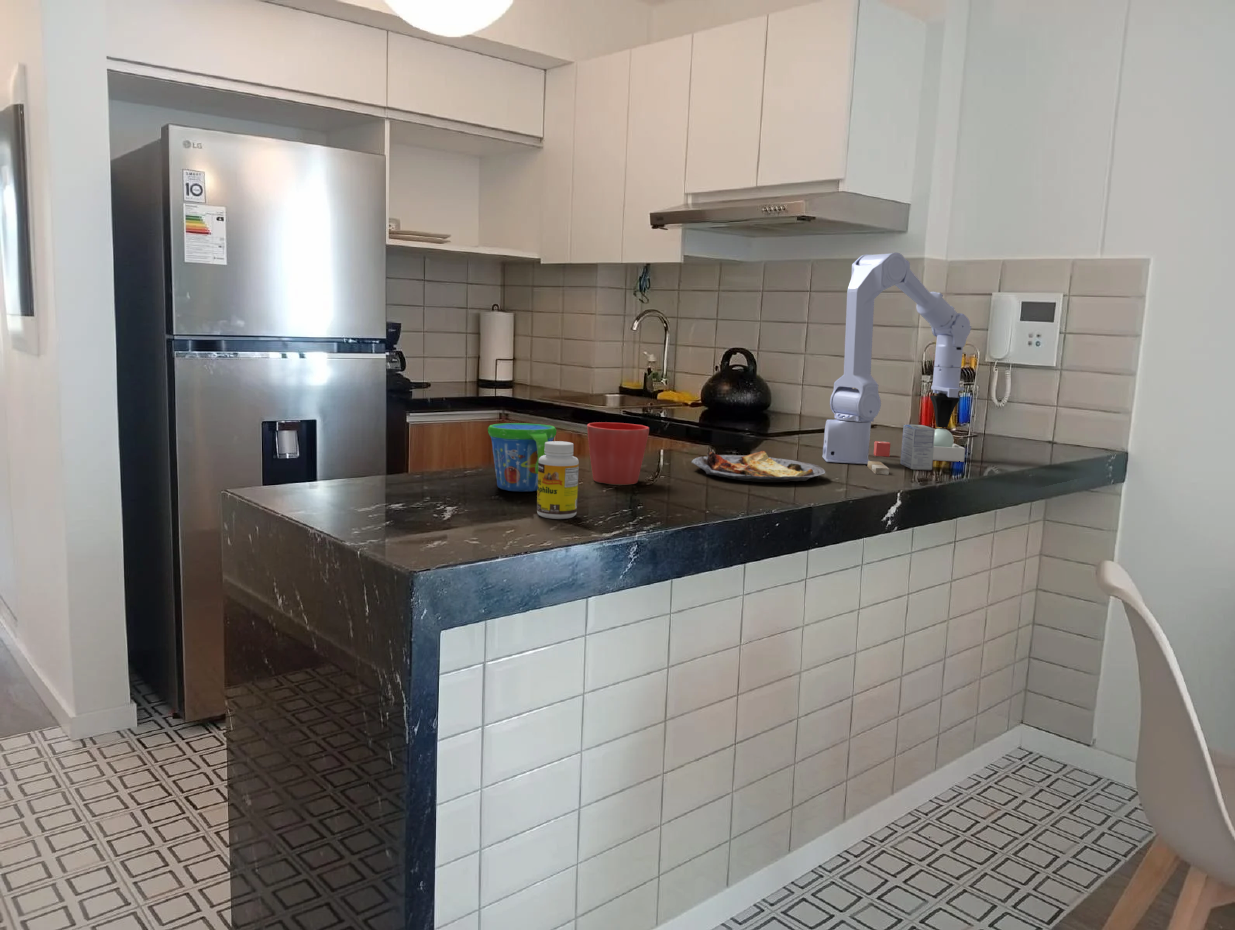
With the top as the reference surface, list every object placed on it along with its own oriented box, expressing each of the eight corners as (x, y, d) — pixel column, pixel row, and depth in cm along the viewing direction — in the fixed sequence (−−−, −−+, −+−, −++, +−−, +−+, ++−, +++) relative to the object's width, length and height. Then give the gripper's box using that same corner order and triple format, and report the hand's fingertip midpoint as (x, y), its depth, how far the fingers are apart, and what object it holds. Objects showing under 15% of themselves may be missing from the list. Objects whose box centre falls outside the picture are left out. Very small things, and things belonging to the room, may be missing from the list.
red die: (875, 455, 209) (876, 442, 209) (873, 454, 212) (874, 440, 212) (889, 456, 209) (890, 443, 208) (886, 454, 212) (888, 441, 211)
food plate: (674, 464, 182) (675, 446, 181) (779, 464, 189) (781, 447, 189) (727, 490, 159) (729, 470, 158) (845, 489, 166) (847, 470, 165)
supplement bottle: (528, 514, 128) (530, 441, 127) (558, 510, 132) (560, 439, 131) (554, 521, 124) (557, 446, 123) (585, 517, 128) (587, 444, 127)
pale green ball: (929, 453, 207) (931, 428, 207) (923, 450, 213) (926, 426, 212) (955, 455, 207) (957, 430, 206) (948, 451, 212) (951, 427, 212)
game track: (875, 473, 181) (876, 467, 181) (867, 466, 191) (867, 461, 190) (888, 474, 181) (889, 468, 181) (879, 467, 190) (880, 461, 190)
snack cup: (474, 482, 152) (475, 420, 151) (534, 479, 157) (535, 420, 156) (505, 499, 139) (507, 432, 137) (570, 496, 143) (572, 431, 142)
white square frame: (923, 459, 206) (924, 446, 206) (914, 454, 215) (916, 441, 214) (963, 461, 205) (965, 448, 205) (953, 456, 214) (955, 443, 214)
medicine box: (932, 470, 189) (936, 428, 188) (910, 469, 189) (914, 427, 188) (920, 465, 197) (924, 424, 196) (899, 464, 197) (903, 423, 196)
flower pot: (659, 482, 160) (662, 427, 158) (616, 489, 152) (619, 430, 150) (615, 474, 167) (617, 420, 165) (571, 479, 159) (573, 423, 157)
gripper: (974, 369, 200) (968, 431, 202) (957, 366, 214) (951, 424, 216) (941, 367, 200) (935, 429, 202) (926, 365, 215) (920, 423, 217)
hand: (941, 427), depth 209 cm, fingers closed
